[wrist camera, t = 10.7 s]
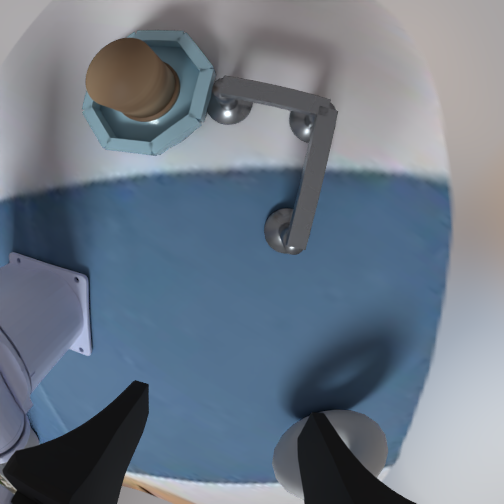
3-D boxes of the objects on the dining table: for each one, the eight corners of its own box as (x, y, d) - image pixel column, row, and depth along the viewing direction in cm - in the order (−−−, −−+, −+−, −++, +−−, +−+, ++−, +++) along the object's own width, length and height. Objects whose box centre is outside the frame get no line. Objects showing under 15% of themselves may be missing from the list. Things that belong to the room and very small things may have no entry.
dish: (87, 147, 18) (74, 146, 16) (115, 40, 16) (105, 32, 14) (197, 162, 18) (191, 161, 17) (226, 45, 16) (223, 34, 14)
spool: (112, 118, 17) (73, 107, 12) (129, 60, 16) (97, 35, 11) (170, 126, 17) (143, 113, 12) (188, 65, 16) (168, 35, 11)
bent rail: (180, 230, 20) (160, 247, 15) (212, 79, 17) (200, 55, 12) (302, 255, 20) (315, 279, 16) (337, 107, 17) (360, 92, 13)
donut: (369, 389, 24) (405, 470, 14) (370, 411, 25) (400, 487, 15) (266, 415, 24) (270, 505, 15) (274, 435, 25) (279, 517, 16)
